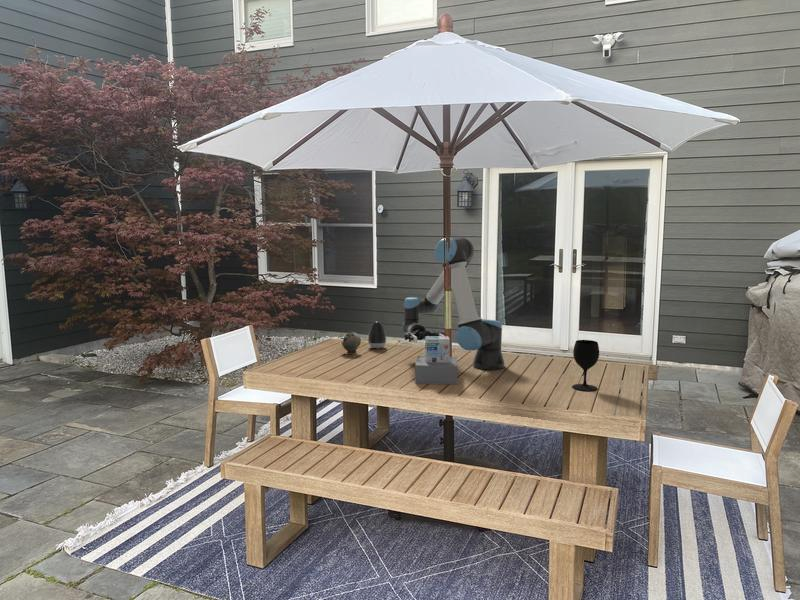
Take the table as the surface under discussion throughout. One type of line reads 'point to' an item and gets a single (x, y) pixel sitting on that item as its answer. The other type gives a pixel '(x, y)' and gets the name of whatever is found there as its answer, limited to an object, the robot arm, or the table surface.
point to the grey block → (436, 371)
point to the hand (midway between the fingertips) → (430, 339)
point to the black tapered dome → (377, 335)
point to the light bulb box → (437, 349)
